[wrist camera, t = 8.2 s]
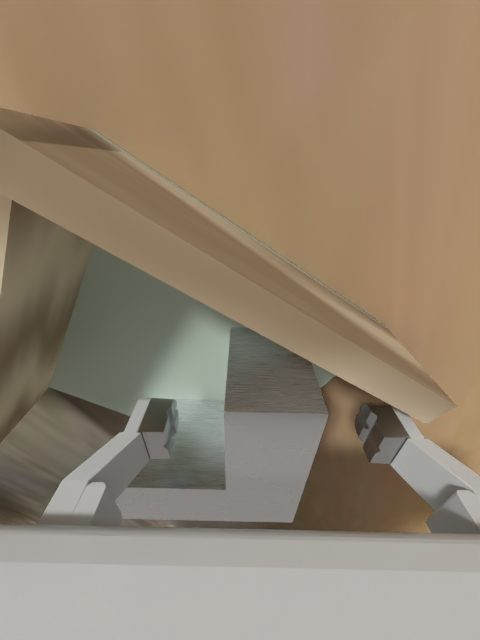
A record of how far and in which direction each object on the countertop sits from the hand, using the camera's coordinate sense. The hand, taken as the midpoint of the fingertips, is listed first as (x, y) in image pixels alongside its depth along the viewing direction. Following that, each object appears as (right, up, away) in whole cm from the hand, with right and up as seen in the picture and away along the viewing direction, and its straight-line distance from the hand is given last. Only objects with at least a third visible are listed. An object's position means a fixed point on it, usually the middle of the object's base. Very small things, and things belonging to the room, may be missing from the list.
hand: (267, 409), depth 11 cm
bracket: (-3, 0, +4) cm, 5 cm away
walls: (-4, +2, +3) cm, 5 cm away
